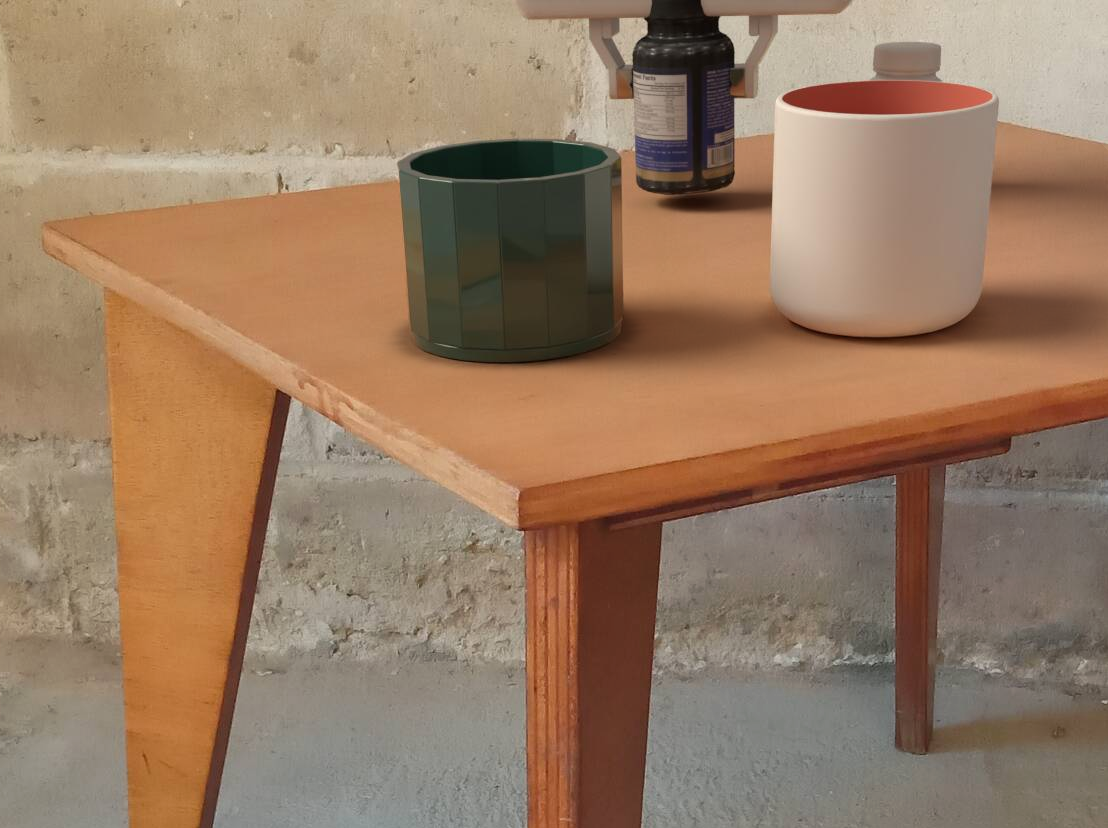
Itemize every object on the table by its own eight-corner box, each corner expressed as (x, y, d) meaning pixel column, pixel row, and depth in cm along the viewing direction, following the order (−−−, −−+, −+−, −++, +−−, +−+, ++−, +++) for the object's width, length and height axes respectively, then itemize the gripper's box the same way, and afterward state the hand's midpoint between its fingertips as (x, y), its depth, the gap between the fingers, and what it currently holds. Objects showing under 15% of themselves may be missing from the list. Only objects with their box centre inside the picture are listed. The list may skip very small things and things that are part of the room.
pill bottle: (715, 173, 108) (715, -16, 103) (749, 190, 103) (751, -8, 98) (622, 182, 107) (617, -8, 102) (652, 200, 102) (649, 1, 96)
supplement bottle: (851, 195, 106) (858, 50, 101) (868, 179, 109) (876, 39, 105) (928, 199, 104) (939, 51, 100) (943, 183, 108) (954, 40, 103)
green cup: (642, 306, 85) (641, 139, 81) (592, 367, 76) (588, 184, 72) (449, 299, 87) (438, 137, 84) (380, 357, 79) (365, 179, 75)
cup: (765, 344, 79) (772, 117, 74) (771, 288, 87) (777, 81, 82) (987, 346, 77) (1009, 114, 72) (971, 288, 86) (989, 77, 81)
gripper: (490, -152, 96) (504, 107, 102) (855, -169, 90) (845, 105, 97) (521, -156, 101) (533, 90, 108) (868, -172, 96) (858, 88, 102)
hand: (684, 97), depth 102 cm, fingers closed on pill bottle, 6 cm apart
